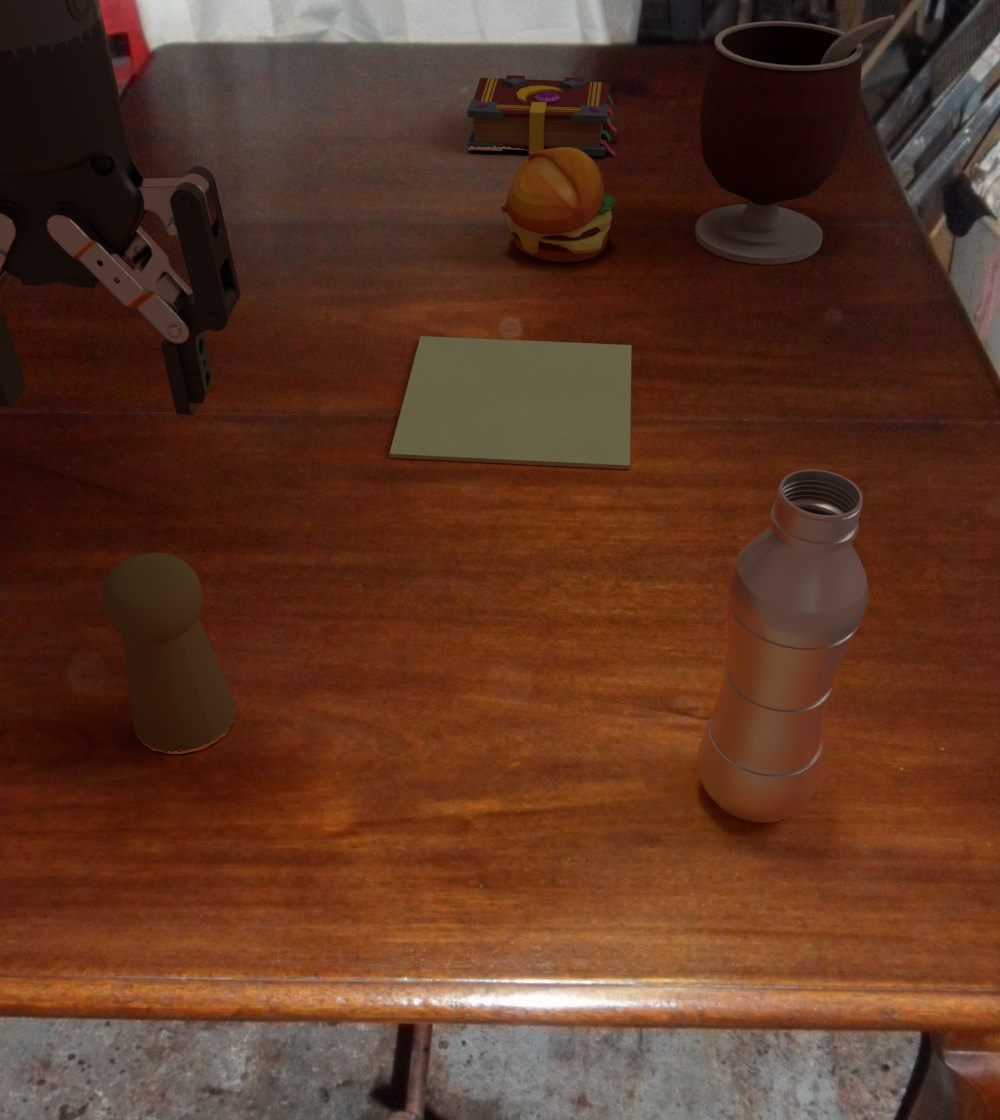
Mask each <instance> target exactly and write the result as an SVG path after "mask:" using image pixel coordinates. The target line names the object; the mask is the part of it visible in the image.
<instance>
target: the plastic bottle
mask: <svg viewBox="0 0 1000 1120" xmlns="http://www.w3.org/2000/svg"><path fill="white" fill-rule="evenodd" d="M863 500H864V495H863V493H862V491H861V489H860V488H859V486H858V485H857V484H855V483H854V482H853V481H852V480H850V479H849V478H847V477H845V476H843V475H841V474H838V473H836V472H834V471H833V472H832V471H829V470H825V469H815V468H814V469H813V468H812V469H811V468H810V469H801V470H797V471H793V472H791V473H789V474H787V475H786V476H784V477H783V478H782V480H781V482H780V484H779V486H778V489H777V494H776V498H775V502H774V504H773V505H772V507H771V510H770V514H769V520H768V521H769V527H767V528H765V529H764V530H762V531H761V532H759V533H758V534H757V535H755V537H753V538H752V539H751V540H749V541H748V542H747V543H746V544H745V545H744V546H743V547H742V548H741V550H740V551H739V553H738V555H737V557H736V559H735V561H734V562H733V564H732V566H731V568H730V570H729V575H728V585H727V646H726V654H725V665H724V674H723V678H722V681H721V682H722V683H721V685H720V689H719V692H718V696H717V699H716V702H715V705H714V709H713V712H712V714H711V716H710V718H709V720H708V721H707V724H706V726H705V728H704V731H703V734H702V736H701V739H700V742H699V746H698V752H697V754H698V755H697V756H698V769H699V770H698V771H699V778H700V781H701V784H702V787H703V788H704V790H705V791H706V793H707V795H708V796H709V798H711V799H712V800H713V802H714V803H716V805H717V806H718V807H719V808H720V809H722V810H724V811H725V813H728V814H729V815H732V816H733V817H735V818H737V819H740V820H744V821H746V822H751V823H761V824H767V823H774V822H779V821H783V820H785V819H787V818H790V817H792V816H794V815H797V814H798V813H799V812H800V811H801V810H803V809H804V808H805V807H806V805H807V804H808V803H809V802H810V800H811V798H812V796H813V795H814V792H815V791H816V789H817V788H818V785H819V783H820V780H821V777H822V764H823V733H824V728H825V721H826V714H827V709H828V701H829V698H830V696H831V692H832V691H833V686H834V683H835V681H836V679H837V675H838V673H839V668H840V666H841V663H842V661H843V659H844V657H845V655H846V653H847V651H848V649H849V647H850V645H851V643H852V641H853V638H854V637H855V635H856V633H857V630H858V628H859V626H860V625H861V622H862V619H863V617H864V614H865V611H866V609H867V606H868V603H869V588H868V587H869V586H868V577H867V573H866V570H865V567H864V566H863V563H862V561H861V559H860V556H859V555H858V553H857V551H856V550H855V547H854V546H853V545H852V544H853V542H855V540H856V537H857V535H858V531H859V527H860V521H859V518H860V515H861V511H862V508H863V504H864V503H863V502H864V501H863Z"/></svg>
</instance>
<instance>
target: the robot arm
mask: <svg viewBox="0 0 1000 1120" xmlns="http://www.w3.org/2000/svg"><path fill="white" fill-rule="evenodd" d="M111 54H112V53H111V50H110V45H109V41H108V36H107V31H106V26H105V21H104V17H103V12H102V7H101V3H100V0H0V293H1V292H2V290H3V288H4V286H5V284H6V282H7V280H8V278H9V276H10V275H11V276H13V277H15V278H16V279H19V280H20V281H21V284H22V286H37V287H38V286H39V287H41V286H44V285H45V286H46V285H48V284H49V285H50V284H53V283H61V284H63V285H67V286H72V287H74V288H85V289H87V288H90V289H95V288H96V286H97V285H98V284H99V283H101V284H102V285H103V286H104V287H105V288H106V289H107V290H108V291H109V292H110V293H111V294H112V295H113V296H114V297H115V298H116V299H117V300H118V301H119V302H120V303H121V304H122V305H123V306H124V307H126V308H128V309H135V310H137V312H139V313H140V314H141V315H142V316H143V317H144V318H145V319H146V320H147V321H148V322H149V323H150V324H151V325H152V326H153V327H154V328H155V329H156V331H158V332H159V333H160V334H161V335H162V336H163V337H164V338H163V339H162V341H161V343H160V347H161V352H162V356H163V359H164V364H165V369H166V373H167V378H168V383H169V387H170V392H171V396H172V401H173V406H174V409H175V412H176V414H177V415H183V416H184V415H185V416H195V415H196V412H197V411H198V408H199V406H200V404H204V402H205V401H206V397H207V395H208V394H209V391H210V390H211V388H212V382H213V379H214V377H213V372H212V367H211V361H210V356H209V350H208V346H207V340H206V336H205V332H206V331H211V332H221V331H222V330H224V329H226V327H227V325H228V323H229V321H230V320H231V317H232V315H233V313H234V311H235V309H236V308H237V305H238V303H239V301H240V299H241V288H240V284H239V280H238V276H237V271H236V267H235V263H234V259H233V253H232V248H231V245H230V240H229V235H228V231H227V227H226V222H225V218H224V213H223V209H222V205H221V201H220V196H219V191H218V188H217V182H216V179H215V176H214V175H213V172H211V171H210V170H209V169H208V168H206V167H204V166H201V165H195V166H194V165H193V166H192V167H190V168H189V169H188V170H187V172H186V173H185V175H184V176H182V177H151V178H146V177H145V174H143V172H142V171H141V170H140V168H139V167H138V165H137V164H136V162H135V160H134V158H133V156H132V154H131V151H130V147H129V139H128V131H127V125H126V120H125V115H124V111H123V106H122V101H121V96H120V91H119V87H118V83H117V78H116V72H115V68H114V64H113V60H112V55H111ZM148 211H149V212H152V213H153V214H155V215H156V216H157V217H158V218H159V219H160V220H161V222H162V225H163V227H164V229H165V231H166V233H167V234H168V235H169V236H171V237H176V238H178V241H179V244H180V248H181V252H182V256H183V260H184V264H185V269H186V271H187V275H188V279H189V283H190V286H189V285H188V284H187V283H186V282H185V281H184V280H183V279H182V277H180V275H179V274H178V273H177V272H176V271H175V270H174V269H173V268H172V266H171V264H170V259H169V257H168V255H167V254H166V252H165V251H164V250H163V248H161V246H159V245H158V243H156V241H155V240H154V239H153V238H152V237H151V236H150V235H149V234H148V233H147V231H145V230H144V229H143V228H142V226H140V225H141V223H142V222H143V219H144V217H145V215H146V213H147V212H148ZM124 256H126V257H127V258H128V259H129V260H130V262H131V263H132V265H133V268H134V269H132V267H130V266H129V264H127V262H125V260H123V259H124ZM10 330H11V329H10V327H9V323H8V321H7V317H6V314H5V312H0V408H14V407H15V405H16V404H17V403H18V401H19V400H20V398H21V397H22V395H23V394H24V392H25V390H26V383H27V382H26V377H25V375H24V371H23V368H22V365H21V361H20V359H19V355H18V353H17V349H16V346H15V343H14V340H13V336H12V333H11V331H10Z"/></svg>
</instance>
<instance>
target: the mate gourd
mask: <svg viewBox="0 0 1000 1120" xmlns="http://www.w3.org/2000/svg"><path fill="white" fill-rule="evenodd" d="M895 22H896V15H895V14H890V15H887V16H882V17H878V18H876V19H873V20H870V21H868V22H865V23H863V24H859V25H857V26H855V27H853V28H851V29H849V30H847V31H842V30H839V29H836V28H833V27H828V26H825V25H819V24H814V23H808V22H800V21H786V20H785V21H784V20H783V21H781V20H774V21H773V20H768V21H767V20H766V21H753V22H747V23H742V24H737V25H734V26H731V27H730V26H729V27H728V28H725V29H723V30H722V31H720V32H718V34H717V35H716V36H715V38H714V46H713V49H712V52H711V54H710V59H709V62H708V66H707V70H706V74H705V78H704V82H703V86H702V93H701V94H702V95H701V103H700V112H699V121H700V122H699V126H700V127H699V128H700V129H699V132H700V135H699V136H700V146H701V154H702V158H703V161H704V163H705V165H706V167H707V168H708V170H709V171H710V174H711V175H712V177H713V179H714V180H715V182H716V184H717V185H718V186H719V187H721V188H722V189H723V190H725V191H727V192H728V193H731V194H733V195H736V196H738V197H741V198H743V199H746V200H748V203H742V204H729V205H724V206H721V207H716V208H714V209H711V210H709V211H706V212H705V213H704V214H702V215H701V216H700V217H699V218H698V219H697V220H696V222H695V229H694V236H695V240H696V241H697V242H698V244H699V245H700V246H701V247H702V248H704V249H705V250H706V251H708V252H710V253H711V254H713V255H716V256H717V257H721V258H724V259H726V260H731V261H734V262H738V263H743V264H752V265H762V266H763V265H765V266H767V265H769V266H770V265H785V264H790V263H795V262H796V263H797V262H799V261H803V260H806V259H808V258H809V257H811V256H813V255H814V254H815V253H817V252H818V251H819V250H820V248H821V246H822V244H823V235H824V234H823V230H822V227H820V225H819V224H818V223H817V222H816V221H815V220H813V219H811V218H810V217H809V216H807V215H806V214H803V213H801V212H798V211H795V210H793V209H790V208H785V207H781V206H779V205H778V203H782V202H787V201H792V200H797V199H802V198H805V197H807V196H809V195H812V194H813V193H815V192H816V191H817V190H818V189H820V187H821V186H822V185H823V184H824V183H825V182H826V181H827V180H828V179H829V178H830V177H831V176H833V174H834V173H835V172H836V171H837V169H838V168H839V166H840V164H841V162H842V160H843V157H844V155H845V152H846V151H847V147H848V145H849V142H850V139H851V136H852V133H853V130H854V128H855V124H856V119H857V114H858V108H859V103H860V99H861V88H862V87H861V86H862V72H863V71H862V55H863V52H864V46H863V44H862V42H863V41H864V40H865V39H866V38H868V37H869V36H871V35H872V34H874V33H875V32H877V31H879V30H881V29H883V28H885V27H892V26H895V24H896V23H895Z"/></svg>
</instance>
